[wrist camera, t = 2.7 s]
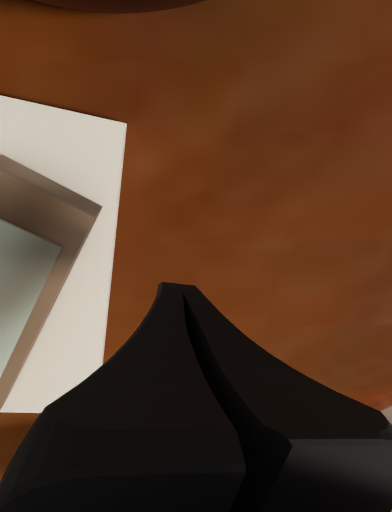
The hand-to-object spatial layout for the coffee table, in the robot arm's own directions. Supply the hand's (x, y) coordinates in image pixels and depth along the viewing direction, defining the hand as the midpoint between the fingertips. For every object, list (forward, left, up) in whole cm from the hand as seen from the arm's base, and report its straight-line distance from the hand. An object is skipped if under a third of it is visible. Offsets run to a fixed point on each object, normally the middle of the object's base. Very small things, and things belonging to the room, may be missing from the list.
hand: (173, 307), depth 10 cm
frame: (+9, +5, -6) cm, 12 cm away
